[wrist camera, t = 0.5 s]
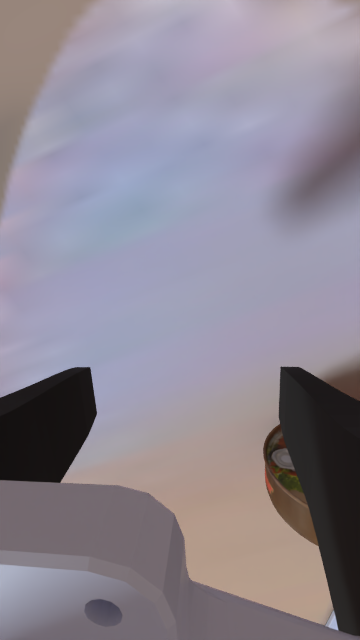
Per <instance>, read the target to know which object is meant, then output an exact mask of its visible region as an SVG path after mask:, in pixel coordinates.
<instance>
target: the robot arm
mask: <svg viewBox="0 0 360 640" xmlns="http://www.w3.org/2000/svg"><path fill="white" fill-rule="evenodd" d="M96 415H97V411H96V404H95V397H94V390H93V383H92V376H91V369H90V367H75V368H71V369H68V370H65V371H63V372H60V373H58V374H55V375H53V376H51V377H49V378H46V379H44V380H42V381H40V382H37V383H35V384H33V385H30V386H28V387H26V388H23V389H21V390H18V391H16V392H14V393H11V394H9V395H6V396H4V397H1V398H0V640H360V401H358V400H356V399H354V398H352V397H350V396H348V395H346V394H344V393H343V392H341V391H339V390H337V389H335V388H334V387H332V386H330V385H329V384H327V383H325V382H324V381H322V380H320V379H319V378H317V377H315V376H314V375H312V374H311V373H309V372H307V371H305V370H304V369H302V368H300V367H281V372H280V398H279V420H280V425H281V429H282V434H283V438H284V442H285V444H286V447H287V450H288V453H289V455H290V458H291V461H292V463H293V466H294V469H295V471H296V474H297V477H298V479H299V482H300V485H301V487H302V490H303V493H304V495H305V498H306V501H307V504H308V507H309V511H310V514H311V518H312V522H313V526H314V530H315V534H316V537H317V541H318V545H319V549H320V553H321V557H322V561H323V566H324V570H325V574H326V578H327V582H328V586H329V591H330V595H331V600H332V604H333V608H334V610H333V612H332V614H331V616H330V618H329V620H328V622H327V623H326V625H325V626H324V625H321V624H318V623H315V622H312V621H309V620H306V619H303V618H300V617H297V616H294V615H291V614H288V613H285V612H283V611H280V610H277V609H274V608H271V607H268V606H265V605H262V604H259V603H256V602H253V601H250V600H247V599H244V598H241V597H239V596H236V595H233V594H230V593H227V592H224V591H221V590H218V589H215V588H212V587H209V586H206V585H203V584H200V583H197V582H194V581H192V580H191V579H190V578H189V575H188V571H187V567H186V556H185V540H184V537H183V534H182V532H181V529H180V527H179V524H178V522H177V519H176V517H175V514H174V513H173V512H171V511H170V510H169V509H168V508H166V507H165V506H164V505H163V504H161V503H160V502H159V501H158V500H156V499H155V498H154V497H153V496H151V495H150V494H149V493H146V492H142V491H138V490H134V489H131V488H127V487H123V486H118V485H96V484H73V483H60V482H61V480H62V479H63V477H64V475H65V474H66V472H67V470H68V469H69V467H70V465H71V464H72V462H73V460H74V459H75V457H76V455H77V454H78V452H79V450H80V449H81V447H82V445H83V443H84V442H85V440H86V438H87V436H88V434H89V432H90V430H91V428H92V425H93V423H94V420H95V417H96Z"/></svg>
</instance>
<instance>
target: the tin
mask: <svg viewBox="0 0 360 640" xmlns="http://www.w3.org/2000/svg"><path fill="white" fill-rule="evenodd" d="M263 454H264V460H265V480H266V486H267V490H268V493H269V496H270V499H271V501H272V503H273V505H274V507H275V508H276V510H277V512H278V513H279V514H280V516H281V517H282V518H283V519H284V520H285V522H286V523H288V524H289V525H290V526H291V527H292V528H293V529H294V530H295V531H296V532H298V533H299V534H300V535H301V536H303V537H304V538H306V539H307V540H309V541H310V542H312V543H314V544H315V545H317V546H319V545H318V541H317V537H316V534H315V530H314V526H313V522H312V518H311V514H310V511H309V507H308V504H307V501H306V498H305V495H304V493H303V490H302V487H301V485H300V482H299V479H298V477H297V474H296V471H295V469H294V466H293V463H292V461H291V458H290V455H289V453H288V450H287V447H286V444H285V442H284V438H283V434H282V429H281V425H280V424H279V425H278V426H276V427H275V428H274V429H273V430H272V431H271V432H270V433H269V435H268V436H267V438H266V440H265V443H264V448H263Z"/></svg>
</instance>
